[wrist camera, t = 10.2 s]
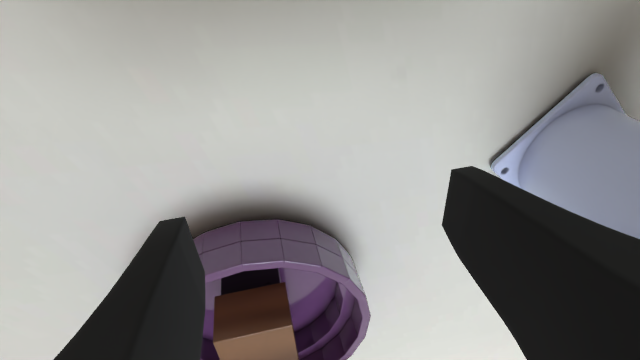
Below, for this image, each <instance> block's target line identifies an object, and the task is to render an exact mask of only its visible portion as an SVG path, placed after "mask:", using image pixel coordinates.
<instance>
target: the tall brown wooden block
mask: <svg viewBox="0 0 640 360" xmlns="http://www.w3.org/2000/svg"><path fill="white" fill-rule="evenodd" d="M213 344H214V346H215V349H216V351H217V354H218V356H219V358H220V360H299V356H298V351H297V345H296V339H295V334H294V328H293V323H292V317H291V312H290V306H289V300H288V295H287V289H286V284H285V282H282V283H281V278H280V273H279V268H275V269H264V270H253V271H243V272H240V273H237V274H234V275H230V276H227V277H224V278H221V295H219V296H215V297H214V325H213Z"/></svg>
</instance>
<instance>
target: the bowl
mask: <svg viewBox="0 0 640 360" xmlns="http://www.w3.org/2000/svg"><path fill="white" fill-rule="evenodd" d="M193 241H194V243H195V246H196V249H197V252H198V254H199V257H200V260H201V263H202V265H203V268H204V271H205V318H204V328H203V337H202V346H201V355H200V360H220V358H219V356H218V354H217V351H216V349H215V346H214V344H213V325H214V297H215V296H219V295H221V278H224V277H227V276H230V275H234V274H237V273H240V272H243V271H253V270H264V269H275V268H279V273H280V278H281V283H282V282H285V284H286V289H287V295H288V300H289V306H290V312H291V317H292V323H293V328H294V334H295V339H296V345H297V351H298V356H299V360H347V359H348V358H349V357H350V356H351V355H352V354H353V353H354V352H355V350H356V349H357V347H358V346H359V345H360V343H361V342H362V341H363V339H364V338H365V336H366V332H367V328H368V324H369V321H370V316H371V315H370V311H369V307H368V302H367V298H366V295H365V292H364V290H363V287H362V284H361V282H360V279H359V277H358V274H357V271H356V268H355V266H354V263H353V260H352V258H351V256H350V255H349V254H348V253H347V251H346V250H345V249H344V248H343V247H342V245H341V244H340V243H339V242H338V241H337V240H336V239H335V238H333V237H331V236H329V235H327V234H326V233H324V232H322V231H320V230H318V229H316V228H314V227H312V226H310V225H306V224H301V223H295V222H290V221H285V220H280V219H271V220H255V221H241V222H236V223H233V224H230V225H226V226H223V227H220V228H217V229H213V230H210V231H207V232H204V233H202V234H201V235H199V236H197V237H196V238H194V239H193Z"/></svg>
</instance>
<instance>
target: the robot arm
mask: <svg viewBox="0 0 640 360" xmlns="http://www.w3.org/2000/svg"><path fill="white" fill-rule="evenodd" d="M597 86H598V87H597ZM491 169H492V170H493V171H494V172H495V173H496V174H497V175H498V176H499V177H500V178H501V179H500V178H498V177H496V176H494V175H492V174H490V173H487V172H485V171H483V170H481V169H478V168H476V167H473V166H470V167H464V168H458V169H453V170H451V176H450V182H449V188H448V193H447V199H446V205H445V210H444V216H443V222H442V226H443V228H444V230H445V232H446V234H447V236H448V238H449V240H450V242H451V244H452V246H453V248H454V250H455V252H456V254H457V255H458V257H459V258H460V260H461V261H462V263H463V264H464V266H465V267H466V269H467V270H468V271H469V273H470V274H471V276H472V277H473V279H474V280H475V282H476V283H477V284H478V286H479V287H480V289H481V290H482V291H483V293H484V294H485V296H486V297H487V299H488V300H489V301H490V303H491V304H492V306H493V307H494V309H495V310H496V311H497V313H498V314H499V316H500V317H501V318H502V320H503V321H504V323H505V324H506V326H507V327H508V329H509V330H510V332H511V333H512V335H513V337H514V338H515V340H516V342H517V343H518V345H519V347H520V349H521V350H522V352H523V354H524V356H525V357H526V359H527V360H640V121H638V120H636V119H634V118H632V117H629V116H627V115H626V114H625V112H624V111H623V109H622V107H621V105H620V104H619V102H618V100H617V98H616V97H615V95H614V93H613V92H612V90H611V88H610V86H609V85H608V83H607V81H606V79H605V78H604V76H603V75H601V74H598V73H594V74H591V75H590V76H589V77H587V78H586V79H585V80H584V81H583V82H582V83H581V84H580V85H578V86H577V87H576V88H575V89H574V90H573V91H572V92H571V93H569V94H568V95H567V96H566V97H565V98H564V99H563V100H562V101H561V102H559V103H558V104H557V105H556V106H555V107H554V108H553V109H552V110H550V111H549V112H548V113H547V114H546V115H545V116H544V117H543V118H541V119H540V120H539V121H538V122H537V123H536V124H535V125H534V126H533V127H531V128H530V129H529V130H528V131H527V132H526V133H525V134H524V135H522V136H521V137H520V138H519V139H518V140H517V141H516V142H515V143H513V144H512V145H511V146H510V147H509V148H508V149H507V150H506V151H505V152H503V153H502V154H501V155H500V156H499V157H498V158H497V159H496V160H494V162H493V163H492V165H491ZM204 318H205V271H204V268H203V265H202V263H201V260H200V257H199V254H198V252H197V249H196V246H195V243H194V241H193V238H192V235H191V232H190V230H189V227H188V224H187V221H186V219H185V217H181V218H175V219H169V220H164V221H160V222H159V223H158V224H157V226H156V227H155V228H154V230H153V231H152V233H151V234H150V236H149V237H148V238H147V240H146V241H145V243H144V244H143V246H142V247H141V249H140V250H139V252H138V253H137V254H136V256H135V257H134V259H133V260H132V262H131V263H130V264H129V266H128V267H127V269H126V270H125V271H124V273H123V274H122V275H121V277H120V278H119V280H118V281H117V282H116V284H115V285H114V286H113V288H112V289H111V291H110V292H109V293H108V295H107V296H106V297H105V298H104V300H103V301H102V302H101V304H100V305H99V306H98V307H97V309H96V310H95V311H94V312H93V314H92V315H91V316H90V317H89V319H88V320H87V321H86V322H85V324H84V325H83V326H82V327H81V329H80V330H79V331H78V332H77V333H76V335H75V336H74V337H73V338H72V339H71V340H70V342H69V343H68V344H67V345H66V346H65V347H64V349H63V350H62V351H61V352H60V353H59V354H58V355H57V356H56V357H55V358H54V360H200V355H201V346H202V337H203V328H204Z"/></svg>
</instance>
